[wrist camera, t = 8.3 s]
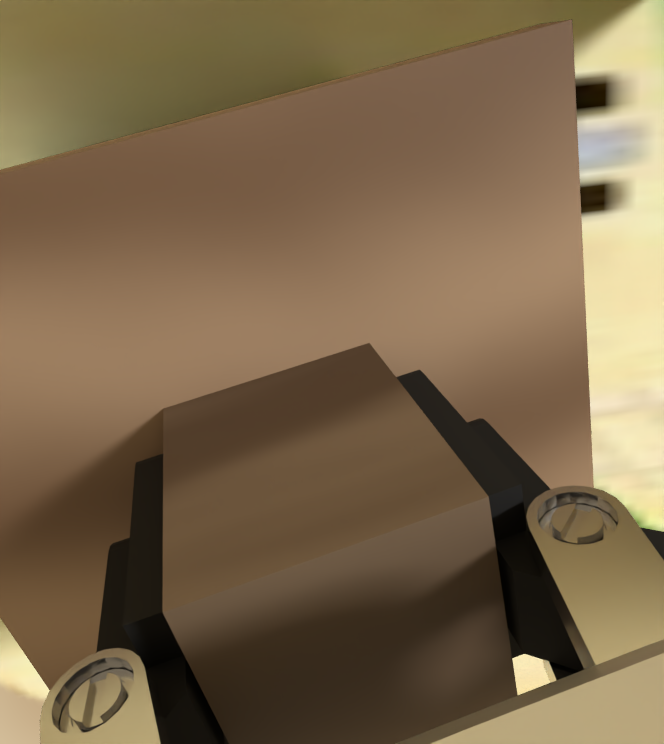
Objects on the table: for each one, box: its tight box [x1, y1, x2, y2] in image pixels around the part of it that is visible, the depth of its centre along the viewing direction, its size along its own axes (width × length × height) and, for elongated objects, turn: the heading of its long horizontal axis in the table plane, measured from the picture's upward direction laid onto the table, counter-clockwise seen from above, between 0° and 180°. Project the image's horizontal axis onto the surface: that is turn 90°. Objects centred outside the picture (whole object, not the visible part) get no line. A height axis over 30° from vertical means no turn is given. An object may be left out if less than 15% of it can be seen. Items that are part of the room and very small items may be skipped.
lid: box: [0, 20, 594, 744], centre depth 11 cm, size 13×13×6 cm
